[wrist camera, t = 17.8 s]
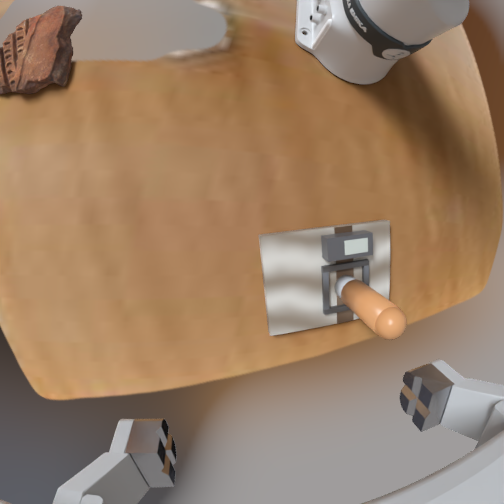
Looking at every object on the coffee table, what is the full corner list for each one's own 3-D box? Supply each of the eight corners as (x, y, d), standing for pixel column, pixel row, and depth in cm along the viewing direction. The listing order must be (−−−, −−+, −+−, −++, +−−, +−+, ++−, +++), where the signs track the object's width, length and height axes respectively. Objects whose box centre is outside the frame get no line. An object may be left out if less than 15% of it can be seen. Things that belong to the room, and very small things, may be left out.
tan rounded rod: (332, 275, 44) (385, 317, 30) (357, 271, 45) (415, 309, 30) (333, 300, 45) (382, 350, 30) (357, 296, 46) (411, 341, 31)
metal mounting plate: (258, 234, 43) (261, 237, 41) (384, 219, 45) (392, 221, 43) (268, 331, 47) (271, 338, 45) (383, 308, 49) (390, 313, 47)
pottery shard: (-6, 105, 34) (-19, 102, 30) (11, 28, 30) (0, 21, 26) (69, 86, 36) (58, 80, 32) (86, 5, 32) (78, -6, 28)
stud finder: (321, 235, 43) (327, 238, 41) (365, 230, 44) (373, 232, 41) (322, 257, 44) (328, 262, 41) (365, 251, 44) (373, 255, 42)
